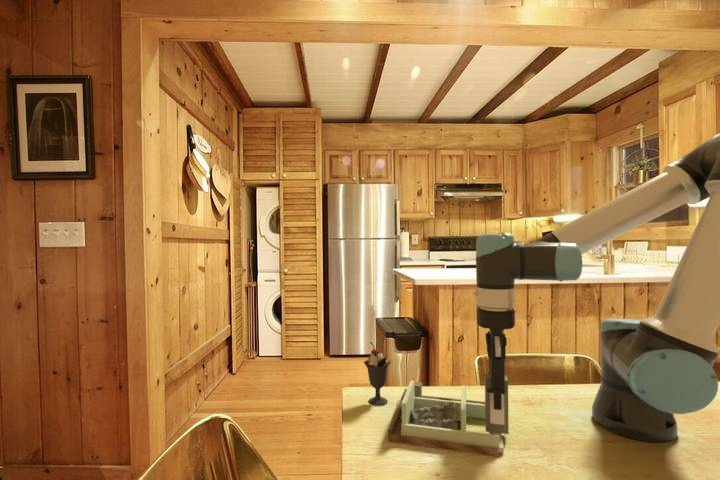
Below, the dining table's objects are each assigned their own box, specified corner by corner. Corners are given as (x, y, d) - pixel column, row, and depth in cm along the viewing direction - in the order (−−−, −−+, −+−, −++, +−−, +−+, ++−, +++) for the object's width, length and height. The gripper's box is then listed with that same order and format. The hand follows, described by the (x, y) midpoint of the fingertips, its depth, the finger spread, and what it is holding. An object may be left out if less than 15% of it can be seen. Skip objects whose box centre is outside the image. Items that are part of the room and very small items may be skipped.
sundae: (366, 395, 99) (365, 339, 99) (391, 396, 99) (390, 339, 98) (363, 407, 93) (362, 346, 93) (390, 408, 92) (389, 347, 92)
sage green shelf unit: (504, 419, 85) (504, 366, 85) (511, 454, 72) (510, 391, 71) (411, 408, 91) (410, 359, 91) (401, 438, 78) (400, 381, 77)
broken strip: (481, 407, 91) (481, 387, 91) (481, 414, 88) (481, 392, 88) (408, 399, 96) (408, 380, 96) (406, 405, 93) (406, 385, 93)
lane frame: (492, 407, 92) (491, 397, 92) (498, 456, 71) (498, 444, 71) (405, 398, 98) (404, 388, 98) (388, 441, 77) (388, 429, 77)
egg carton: (455, 418, 86) (455, 400, 86) (464, 435, 79) (464, 416, 79) (409, 418, 86) (409, 400, 86) (413, 435, 79) (413, 416, 79)
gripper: (476, 300, 87) (477, 400, 88) (477, 314, 72) (478, 436, 72) (510, 301, 85) (511, 404, 86) (519, 316, 70) (521, 441, 70)
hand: (496, 418), depth 79 cm, fingers closed on sage green shelf unit, 3 cm apart
